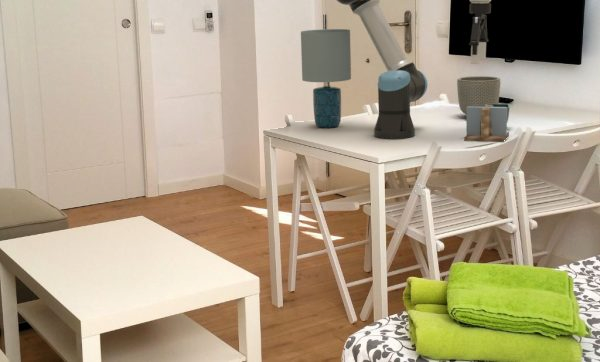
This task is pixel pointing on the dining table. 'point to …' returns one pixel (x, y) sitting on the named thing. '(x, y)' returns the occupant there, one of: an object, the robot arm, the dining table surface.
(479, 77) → the planter
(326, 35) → the lamp
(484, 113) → the jig
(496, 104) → the flower pot
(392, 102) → the robot arm
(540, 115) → the dining table surface
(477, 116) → the slotted board
